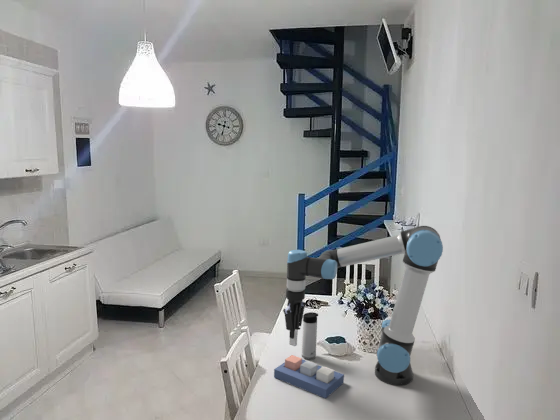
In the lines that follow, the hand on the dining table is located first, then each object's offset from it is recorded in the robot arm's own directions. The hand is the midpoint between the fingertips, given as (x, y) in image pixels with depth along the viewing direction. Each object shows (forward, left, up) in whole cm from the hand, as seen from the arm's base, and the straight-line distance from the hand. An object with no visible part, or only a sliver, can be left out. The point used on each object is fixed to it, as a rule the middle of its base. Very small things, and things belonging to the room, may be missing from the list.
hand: (293, 344), depth 174 cm
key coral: (0, 0, -10) cm, 10 cm away
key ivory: (-15, 0, -10) cm, 18 cm away
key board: (-8, 0, -13) cm, 15 cm away
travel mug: (+3, -17, -13) cm, 22 cm away
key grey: (-8, 0, -10) cm, 12 cm away
